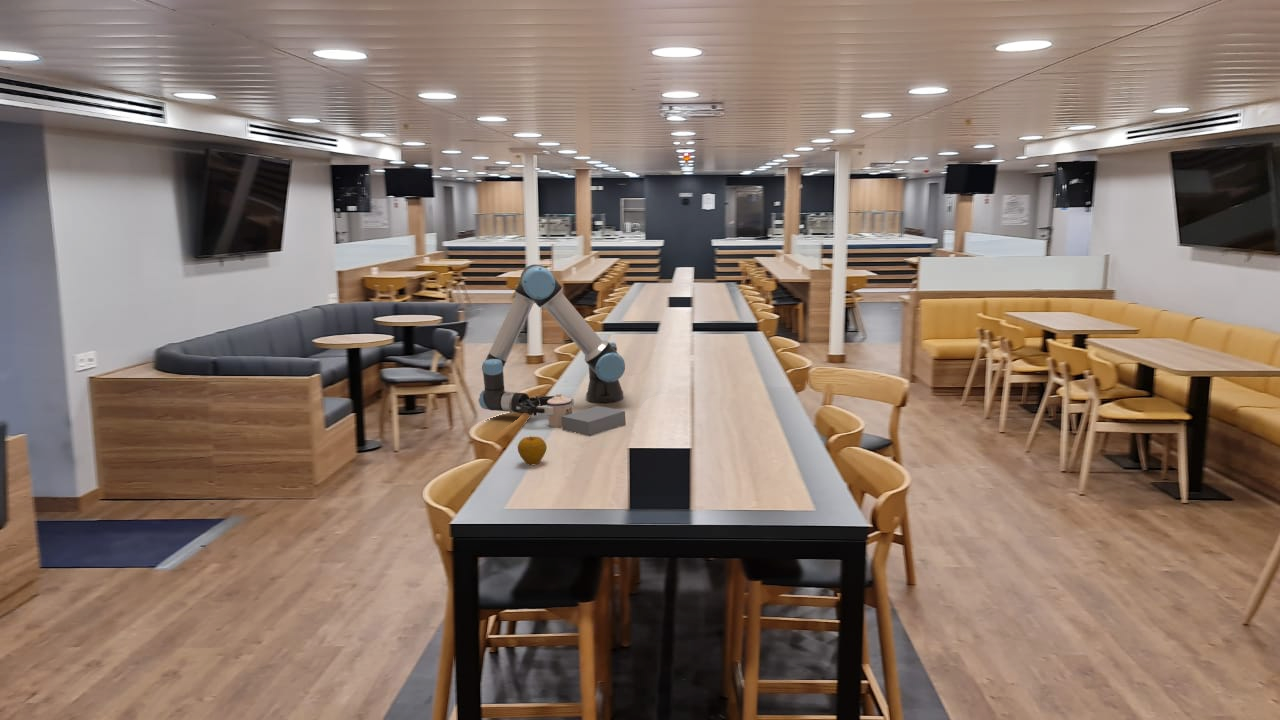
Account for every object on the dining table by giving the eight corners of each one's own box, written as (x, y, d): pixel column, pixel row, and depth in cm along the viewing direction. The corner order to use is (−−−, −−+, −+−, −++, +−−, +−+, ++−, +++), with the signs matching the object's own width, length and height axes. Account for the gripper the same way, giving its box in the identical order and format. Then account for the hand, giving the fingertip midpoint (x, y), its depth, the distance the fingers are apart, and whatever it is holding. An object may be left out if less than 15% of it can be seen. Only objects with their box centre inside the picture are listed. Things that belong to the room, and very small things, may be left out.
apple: (546, 458, 282) (544, 431, 281) (548, 466, 274) (546, 438, 272) (518, 460, 281) (516, 433, 279) (519, 469, 272) (517, 441, 270)
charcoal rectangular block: (598, 418, 328) (597, 405, 327) (625, 424, 318) (624, 411, 317) (562, 429, 315) (561, 416, 314) (589, 436, 305) (588, 422, 304)
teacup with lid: (569, 428, 317) (566, 396, 315) (544, 427, 319) (542, 396, 317) (578, 419, 329) (576, 388, 326) (555, 419, 331) (553, 388, 328)
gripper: (535, 404, 343) (582, 408, 333) (496, 420, 322) (544, 425, 312) (534, 385, 342) (580, 389, 332) (494, 400, 320) (543, 404, 310)
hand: (563, 406), depth 322 cm, fingers open, 13 cm apart
